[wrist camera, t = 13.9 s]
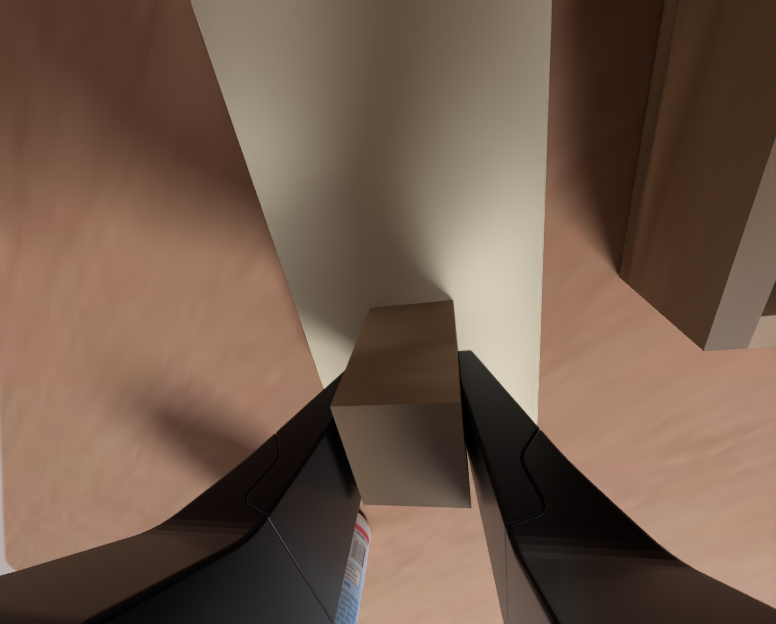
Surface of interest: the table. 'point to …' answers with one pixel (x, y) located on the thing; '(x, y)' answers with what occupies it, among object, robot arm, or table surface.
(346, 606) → the pill bottle
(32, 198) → the table surface
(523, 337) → the lid
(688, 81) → the toolbox
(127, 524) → the table surface
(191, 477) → the table surface
